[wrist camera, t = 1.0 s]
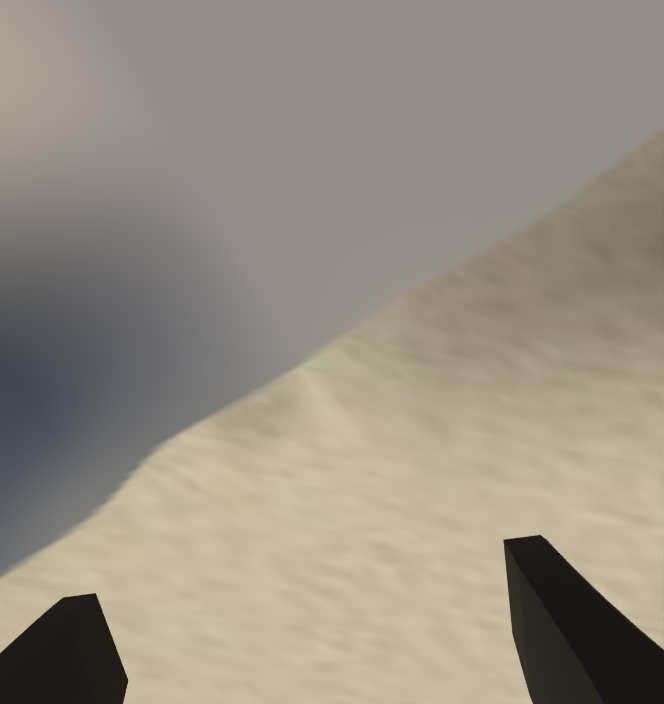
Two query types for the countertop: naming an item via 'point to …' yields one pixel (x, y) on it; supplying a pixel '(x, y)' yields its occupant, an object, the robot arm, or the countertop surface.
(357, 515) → the countertop surface
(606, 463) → the countertop surface
